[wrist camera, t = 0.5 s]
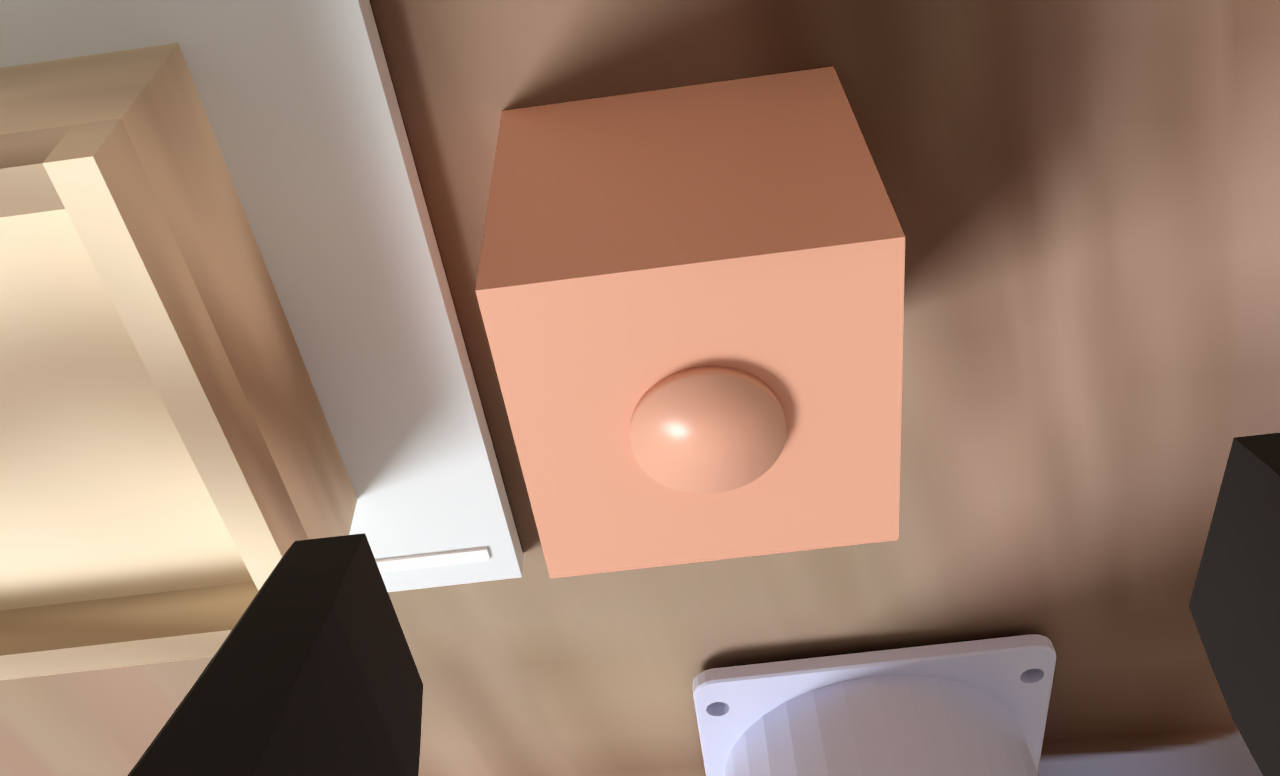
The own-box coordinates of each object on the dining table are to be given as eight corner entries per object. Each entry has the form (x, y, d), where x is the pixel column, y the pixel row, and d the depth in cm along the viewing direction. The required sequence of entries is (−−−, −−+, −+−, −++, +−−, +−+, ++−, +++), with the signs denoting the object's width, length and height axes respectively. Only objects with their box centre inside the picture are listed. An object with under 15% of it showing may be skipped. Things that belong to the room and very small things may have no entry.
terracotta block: (838, 334, 20) (901, 550, 16) (558, 368, 20) (550, 589, 16) (833, 64, 17) (909, 245, 13) (502, 108, 17) (474, 300, 13)
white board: (523, 555, 23) (521, 579, 22) (-44, 619, 24) (-58, 644, 23) (312, -202, 14) (302, -190, 14) (-575, -68, 15) (-617, -52, 14)
